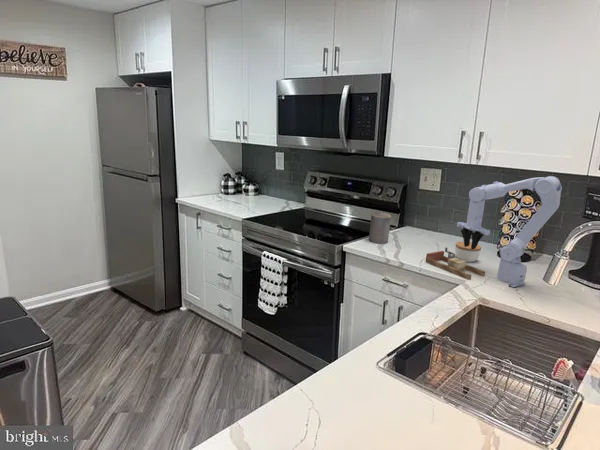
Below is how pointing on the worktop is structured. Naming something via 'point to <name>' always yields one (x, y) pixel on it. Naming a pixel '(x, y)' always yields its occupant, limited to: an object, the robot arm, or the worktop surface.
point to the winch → (450, 254)
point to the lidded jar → (467, 252)
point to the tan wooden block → (457, 264)
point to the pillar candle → (379, 228)
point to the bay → (437, 256)
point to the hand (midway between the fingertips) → (469, 247)
